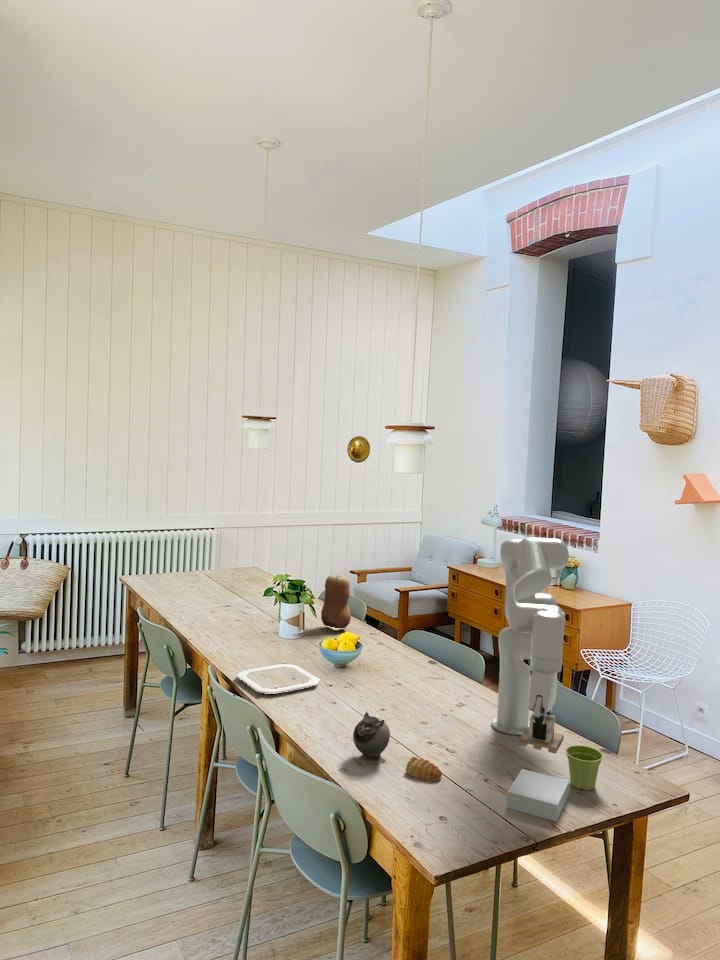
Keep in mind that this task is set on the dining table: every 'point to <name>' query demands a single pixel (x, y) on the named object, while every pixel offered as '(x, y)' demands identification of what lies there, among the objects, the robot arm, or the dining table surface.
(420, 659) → the dining table surface
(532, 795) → the dock
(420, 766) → the pastry
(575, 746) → the plant pot
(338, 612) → the butternut squash
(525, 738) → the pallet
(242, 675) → the white square frame
